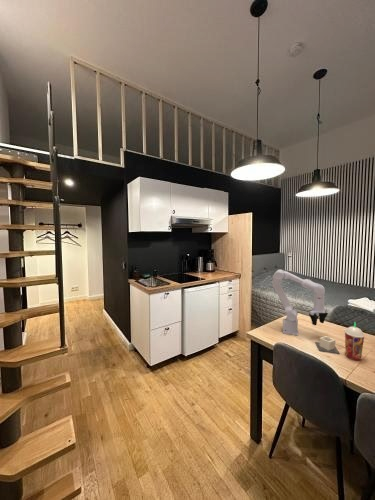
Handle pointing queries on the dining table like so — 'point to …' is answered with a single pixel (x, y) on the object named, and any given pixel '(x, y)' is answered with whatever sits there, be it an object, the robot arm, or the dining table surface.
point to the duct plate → (326, 349)
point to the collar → (327, 343)
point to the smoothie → (354, 342)
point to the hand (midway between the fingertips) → (317, 323)
